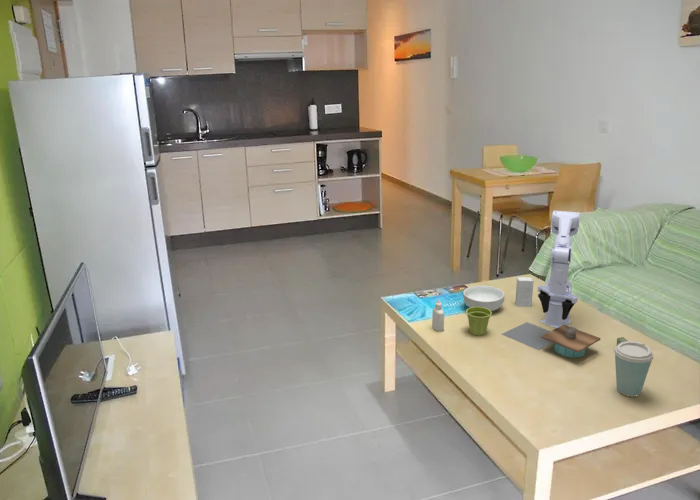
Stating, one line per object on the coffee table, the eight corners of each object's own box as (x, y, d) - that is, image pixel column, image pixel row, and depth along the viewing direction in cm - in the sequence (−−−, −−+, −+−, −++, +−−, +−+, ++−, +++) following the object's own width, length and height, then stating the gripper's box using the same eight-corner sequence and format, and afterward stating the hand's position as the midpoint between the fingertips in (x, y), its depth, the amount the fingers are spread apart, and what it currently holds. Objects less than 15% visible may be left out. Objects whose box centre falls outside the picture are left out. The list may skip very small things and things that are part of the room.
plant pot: (462, 336, 205) (463, 315, 202) (467, 325, 213) (468, 305, 210) (488, 340, 201) (489, 318, 199) (492, 329, 210) (493, 308, 207)
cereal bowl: (461, 299, 237) (462, 284, 235) (500, 300, 235) (501, 285, 233) (463, 316, 221) (464, 300, 219) (506, 317, 219) (507, 301, 217)
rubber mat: (526, 322, 214) (526, 322, 214) (563, 337, 202) (564, 336, 202) (501, 335, 205) (501, 334, 205) (538, 351, 193) (538, 350, 193)
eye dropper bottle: (443, 325, 213) (444, 297, 210) (443, 332, 208) (444, 303, 204) (432, 325, 214) (432, 296, 210) (432, 331, 209) (433, 302, 205)
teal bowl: (564, 341, 199) (565, 329, 197) (590, 352, 191) (591, 339, 190) (548, 350, 193) (549, 337, 191) (574, 361, 185) (576, 348, 184)
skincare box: (529, 303, 231) (531, 277, 228) (531, 307, 227) (533, 280, 224) (514, 303, 232) (516, 276, 228) (516, 307, 228) (518, 280, 224)
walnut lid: (563, 326, 200) (564, 316, 198) (600, 339, 189) (601, 329, 188) (541, 337, 192) (542, 327, 190) (578, 352, 181) (579, 342, 180)
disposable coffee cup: (629, 404, 161) (636, 359, 157) (600, 386, 171) (606, 343, 166) (655, 395, 165) (662, 351, 161) (625, 378, 175) (631, 336, 170)
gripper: (533, 277, 195) (530, 311, 199) (571, 288, 184) (567, 325, 188) (545, 272, 199) (542, 306, 203) (582, 283, 188) (578, 319, 192)
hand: (554, 315), depth 196 cm, fingers open, 7 cm apart
